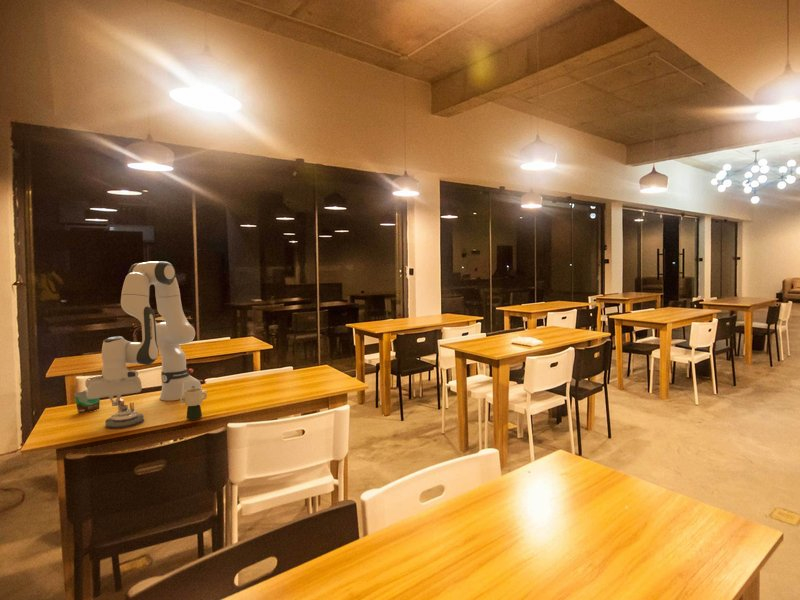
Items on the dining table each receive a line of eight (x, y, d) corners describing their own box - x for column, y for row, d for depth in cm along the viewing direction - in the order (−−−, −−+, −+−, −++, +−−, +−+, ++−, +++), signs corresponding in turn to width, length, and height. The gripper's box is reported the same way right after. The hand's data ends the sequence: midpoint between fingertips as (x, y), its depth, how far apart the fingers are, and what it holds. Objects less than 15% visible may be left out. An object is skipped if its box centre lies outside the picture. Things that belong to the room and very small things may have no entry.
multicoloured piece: (140, 417, 189) (139, 402, 188) (114, 423, 182) (113, 407, 182) (132, 410, 199) (131, 396, 198) (107, 415, 192) (106, 400, 192)
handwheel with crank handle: (130, 416, 199) (129, 399, 198) (151, 420, 193) (150, 403, 192) (98, 425, 186) (97, 408, 185) (119, 430, 180) (118, 412, 179)
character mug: (205, 414, 200) (204, 386, 199) (209, 418, 194) (208, 389, 194) (178, 419, 193) (177, 390, 192) (182, 423, 188) (181, 393, 187)
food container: (86, 414, 201) (84, 393, 200) (74, 414, 202) (73, 392, 201) (109, 406, 213) (107, 386, 212) (98, 406, 214) (97, 385, 213)
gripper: (86, 378, 183) (87, 411, 183) (142, 372, 196) (142, 402, 197) (84, 376, 187) (85, 408, 188) (139, 370, 201) (139, 400, 201)
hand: (115, 405), depth 192 cm, fingers closed
